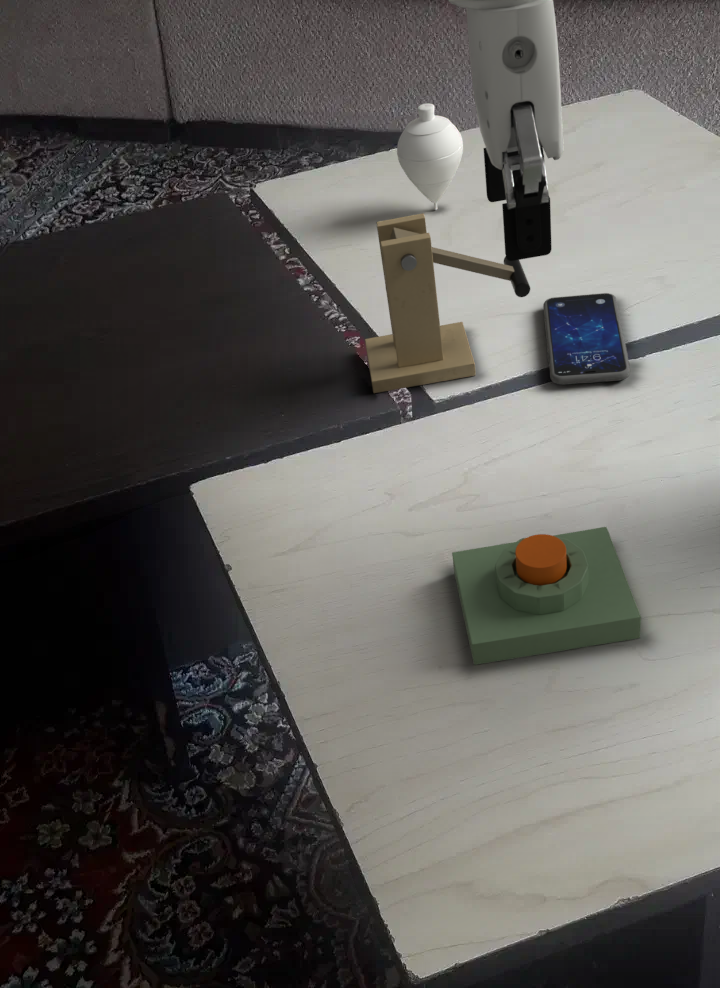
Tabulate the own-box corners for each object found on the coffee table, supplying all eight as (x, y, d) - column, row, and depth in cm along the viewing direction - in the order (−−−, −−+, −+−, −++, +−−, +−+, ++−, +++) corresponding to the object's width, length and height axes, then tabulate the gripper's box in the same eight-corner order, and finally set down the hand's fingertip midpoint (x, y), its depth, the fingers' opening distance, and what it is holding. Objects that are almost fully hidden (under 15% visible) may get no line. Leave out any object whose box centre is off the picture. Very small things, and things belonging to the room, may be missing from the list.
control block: (606, 547, 83) (606, 508, 80) (640, 638, 76) (642, 598, 73) (454, 573, 84) (449, 534, 81) (474, 665, 77) (469, 626, 74)
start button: (560, 548, 78) (560, 530, 77) (571, 580, 76) (571, 562, 75) (512, 556, 79) (511, 538, 77) (521, 589, 76) (520, 571, 75)
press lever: (513, 273, 102) (522, 250, 101) (525, 303, 98) (534, 280, 97) (383, 242, 99) (391, 217, 98) (390, 272, 95) (398, 247, 93)
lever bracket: (463, 333, 108) (451, 200, 98) (475, 375, 102) (464, 239, 92) (366, 350, 108) (345, 220, 98) (373, 393, 103) (351, 259, 93)
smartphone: (616, 290, 107) (632, 373, 97) (615, 299, 108) (631, 382, 98) (541, 297, 108) (550, 379, 98) (542, 305, 109) (550, 388, 99)
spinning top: (395, 223, 127) (381, 119, 119) (417, 194, 132) (406, 92, 123) (455, 225, 124) (446, 119, 116) (476, 196, 129) (468, 92, 120)
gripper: (592, -9, 60) (592, 272, 72) (541, -82, 72) (548, 169, 85) (461, 16, 61) (482, 290, 73) (431, -60, 73) (454, 186, 85)
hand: (517, 225), depth 79 cm, fingers open, 9 cm apart
